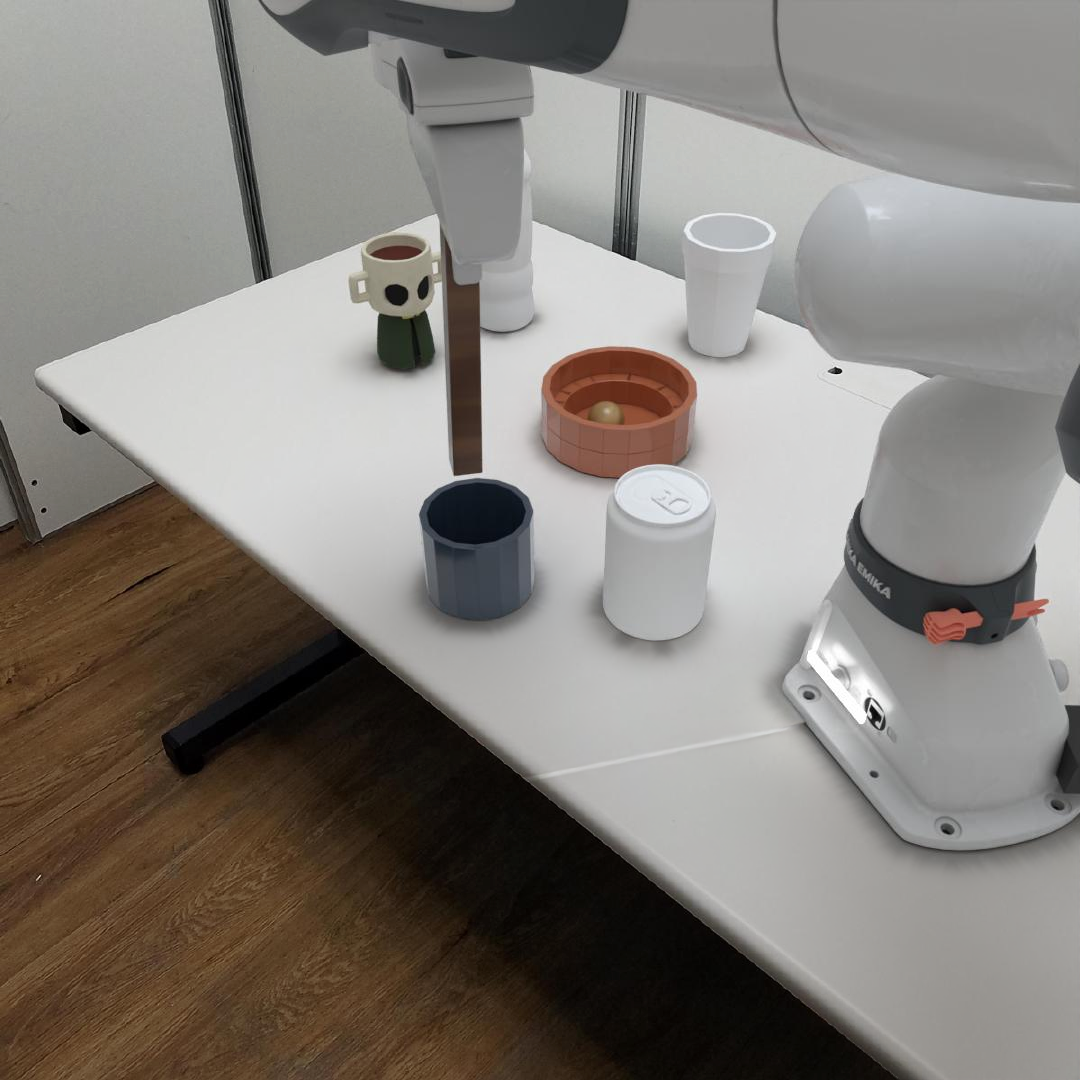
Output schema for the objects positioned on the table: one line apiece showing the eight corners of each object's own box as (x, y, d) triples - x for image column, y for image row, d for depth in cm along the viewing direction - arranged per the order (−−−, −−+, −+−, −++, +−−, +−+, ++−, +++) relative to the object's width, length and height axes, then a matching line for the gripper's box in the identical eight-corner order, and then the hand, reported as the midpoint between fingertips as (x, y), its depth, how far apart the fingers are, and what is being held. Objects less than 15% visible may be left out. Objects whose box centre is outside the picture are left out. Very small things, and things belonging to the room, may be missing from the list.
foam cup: (758, 323, 121) (773, 214, 113) (762, 366, 114) (779, 253, 106) (674, 320, 122) (683, 211, 114) (674, 362, 115) (683, 249, 107)
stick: (482, 473, 80) (478, 215, 67) (453, 476, 79) (443, 218, 66) (477, 456, 81) (472, 202, 68) (448, 459, 81) (438, 204, 68)
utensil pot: (544, 614, 86) (543, 538, 81) (436, 632, 84) (428, 557, 79) (521, 545, 92) (519, 471, 87) (420, 561, 91) (412, 486, 86)
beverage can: (647, 563, 90) (656, 447, 83) (723, 610, 86) (740, 492, 78) (581, 610, 86) (584, 492, 78) (658, 662, 82) (669, 543, 74)
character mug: (373, 387, 112) (359, 272, 104) (348, 357, 117) (332, 245, 108) (466, 359, 116) (459, 247, 108) (437, 331, 121) (429, 222, 112)
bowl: (712, 470, 100) (719, 417, 96) (562, 493, 98) (563, 439, 94) (664, 389, 111) (668, 338, 107) (527, 407, 109) (527, 356, 105)
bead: (637, 428, 102) (616, 407, 100) (608, 452, 103) (587, 431, 101) (624, 408, 105) (603, 387, 102) (596, 431, 106) (575, 411, 103)
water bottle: (533, 334, 120) (530, 107, 104) (470, 334, 120) (457, 107, 104) (534, 304, 125) (531, 83, 109) (474, 304, 126) (462, 84, 109)
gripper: (373, 0, 68) (394, 209, 77) (418, 104, 53) (438, 349, 62) (470, -6, 69) (480, 200, 78) (542, 94, 54) (543, 336, 63)
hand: (462, 267), depth 70 cm, fingers closed on stick, 2 cm apart
